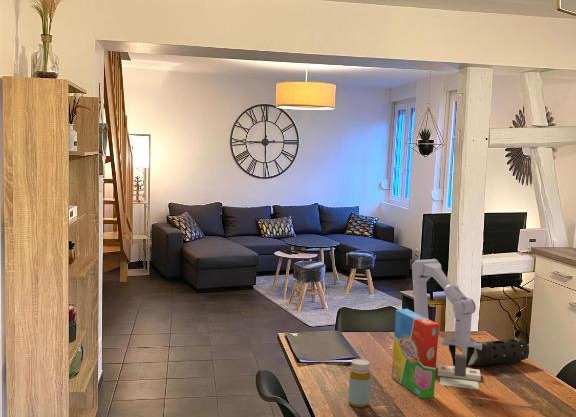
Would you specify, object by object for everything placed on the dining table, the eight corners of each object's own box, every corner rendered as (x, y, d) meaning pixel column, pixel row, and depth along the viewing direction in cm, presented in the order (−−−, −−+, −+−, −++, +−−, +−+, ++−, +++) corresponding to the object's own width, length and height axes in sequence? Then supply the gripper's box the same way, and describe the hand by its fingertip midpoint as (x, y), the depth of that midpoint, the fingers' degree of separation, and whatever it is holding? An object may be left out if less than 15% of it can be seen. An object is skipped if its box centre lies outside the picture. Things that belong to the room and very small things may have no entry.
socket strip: (437, 376, 238) (438, 370, 237) (437, 370, 244) (438, 364, 244) (480, 382, 234) (480, 375, 233) (479, 375, 240) (479, 369, 240)
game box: (391, 378, 234) (395, 309, 232) (403, 376, 236) (407, 308, 234) (422, 399, 215) (426, 324, 213) (434, 397, 217) (439, 323, 215)
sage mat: (439, 385, 228) (440, 384, 228) (440, 378, 236) (440, 377, 236) (478, 391, 225) (478, 389, 225) (477, 383, 232) (477, 381, 232)
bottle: (346, 399, 212) (348, 358, 211) (366, 399, 213) (368, 358, 211) (350, 408, 205) (352, 365, 204) (370, 408, 206) (373, 365, 204)
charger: (454, 375, 229) (455, 357, 228) (454, 371, 233) (455, 354, 232) (465, 376, 228) (466, 358, 227) (465, 373, 232) (466, 355, 231)
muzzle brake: (528, 365, 255) (530, 341, 254) (474, 372, 245) (476, 347, 244) (512, 358, 264) (514, 334, 263) (460, 364, 254) (461, 340, 253)
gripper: (442, 331, 226) (440, 366, 227) (483, 335, 223) (480, 371, 224) (442, 326, 233) (440, 360, 234) (482, 330, 229) (479, 365, 231)
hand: (460, 365), depth 230 cm, fingers closed on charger, 4 cm apart
